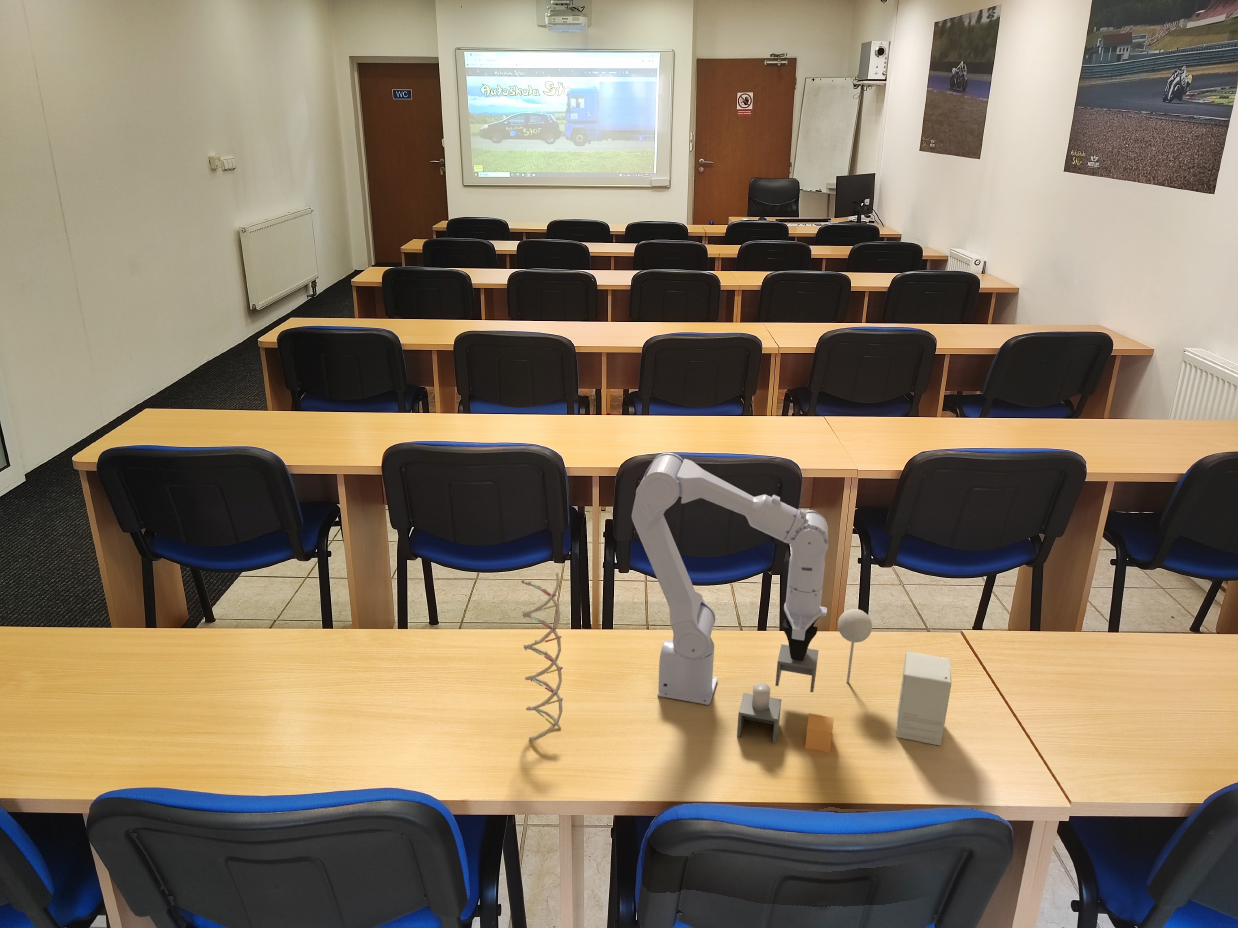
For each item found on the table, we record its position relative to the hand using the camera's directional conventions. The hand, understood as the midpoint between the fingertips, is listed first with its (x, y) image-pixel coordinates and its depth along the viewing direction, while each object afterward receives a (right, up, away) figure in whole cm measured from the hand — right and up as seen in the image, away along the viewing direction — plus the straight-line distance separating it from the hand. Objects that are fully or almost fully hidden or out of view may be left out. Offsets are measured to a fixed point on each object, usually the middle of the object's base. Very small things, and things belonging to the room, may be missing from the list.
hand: (798, 653), depth 152 cm
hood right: (0, -5, +2) cm, 5 cm away
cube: (+2, -14, -6) cm, 15 cm away
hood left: (-7, -12, -3) cm, 15 cm away
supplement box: (+20, -13, -2) cm, 24 cm away
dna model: (-43, -13, -4) cm, 45 cm away
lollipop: (+11, -8, +10) cm, 17 cm away
